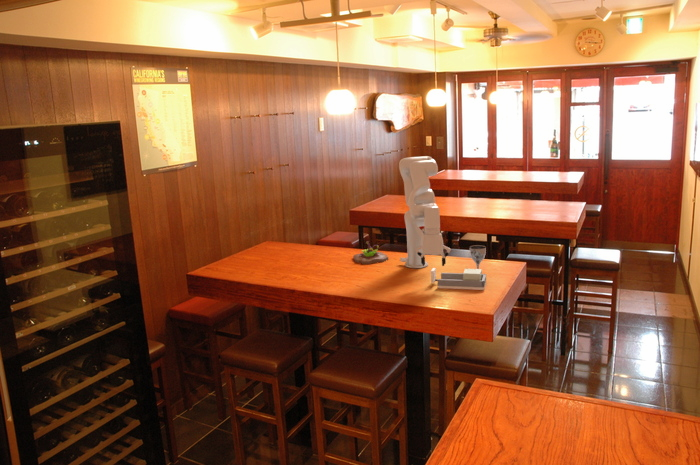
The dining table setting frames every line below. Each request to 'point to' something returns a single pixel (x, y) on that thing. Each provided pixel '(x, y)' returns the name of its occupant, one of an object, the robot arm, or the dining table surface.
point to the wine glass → (477, 253)
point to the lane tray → (460, 282)
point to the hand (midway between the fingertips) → (433, 265)
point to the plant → (370, 256)
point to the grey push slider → (467, 274)
